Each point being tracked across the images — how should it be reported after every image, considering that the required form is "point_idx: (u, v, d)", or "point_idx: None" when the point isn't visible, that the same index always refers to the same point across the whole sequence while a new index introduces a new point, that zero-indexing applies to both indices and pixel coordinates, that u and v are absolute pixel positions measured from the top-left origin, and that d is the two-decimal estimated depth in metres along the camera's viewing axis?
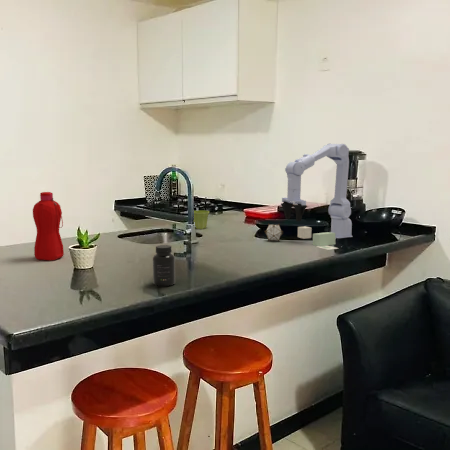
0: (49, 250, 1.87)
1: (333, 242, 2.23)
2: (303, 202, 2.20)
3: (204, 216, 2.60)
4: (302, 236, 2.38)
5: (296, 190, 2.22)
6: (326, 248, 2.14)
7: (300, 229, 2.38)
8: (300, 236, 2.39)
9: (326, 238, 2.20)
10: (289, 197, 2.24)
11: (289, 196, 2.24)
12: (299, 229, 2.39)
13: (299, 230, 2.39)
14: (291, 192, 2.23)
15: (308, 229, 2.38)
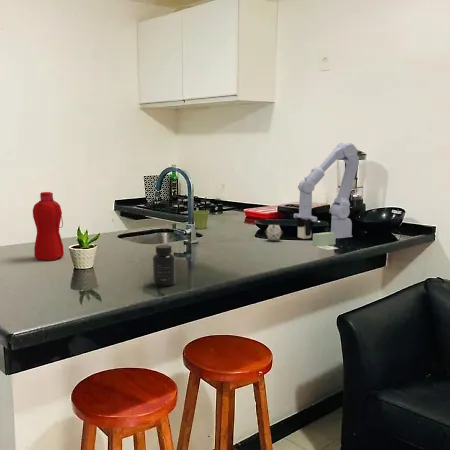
0: (49, 250, 1.87)
1: (333, 242, 2.22)
2: (314, 218, 2.32)
3: (204, 216, 2.60)
4: (302, 236, 2.38)
5: (307, 207, 2.35)
6: (326, 248, 2.14)
7: (300, 229, 2.38)
8: (300, 236, 2.39)
9: (326, 238, 2.20)
10: (301, 213, 2.36)
11: (301, 212, 2.36)
12: (299, 229, 2.39)
13: (299, 230, 2.39)
14: (303, 209, 2.35)
15: None
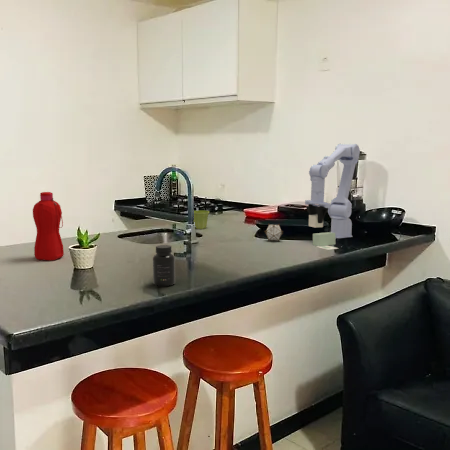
0: (49, 250, 1.87)
1: (333, 242, 2.22)
2: (327, 205, 2.20)
3: (204, 216, 2.60)
4: (313, 224, 2.26)
5: (320, 193, 2.23)
6: (326, 248, 2.14)
7: (311, 217, 2.27)
8: (311, 224, 2.27)
9: (326, 238, 2.20)
10: (313, 200, 2.25)
11: (313, 199, 2.25)
12: (310, 217, 2.27)
13: (310, 219, 2.27)
14: (315, 195, 2.24)
15: None
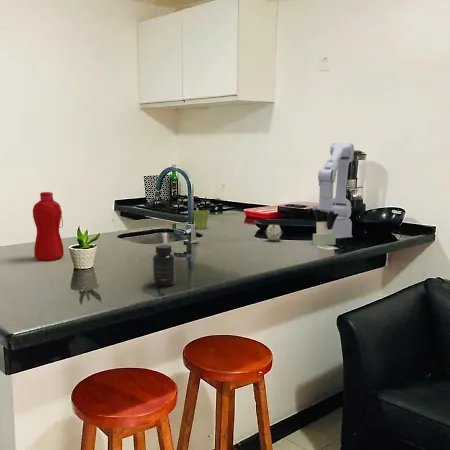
0: (49, 250, 1.87)
1: (333, 242, 2.22)
2: (336, 210, 2.14)
3: (204, 216, 2.60)
4: (322, 231, 2.19)
5: (328, 198, 2.17)
6: (326, 248, 2.14)
7: (319, 224, 2.20)
8: (319, 232, 2.21)
9: (326, 238, 2.20)
10: (321, 205, 2.18)
11: (321, 204, 2.18)
12: (318, 224, 2.21)
13: (318, 226, 2.21)
14: (323, 200, 2.17)
15: None
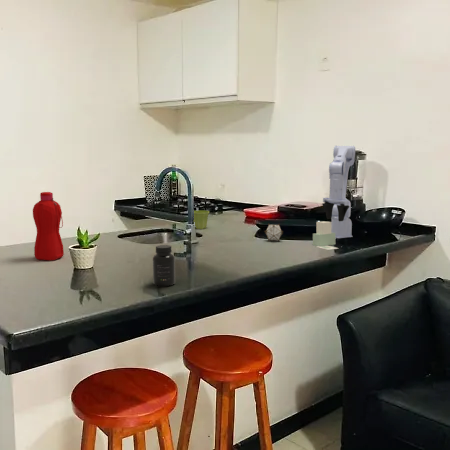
0: (49, 250, 1.87)
1: (333, 242, 2.22)
2: (346, 202, 2.19)
3: (204, 216, 2.60)
4: (322, 231, 2.19)
5: (339, 190, 2.22)
6: (326, 248, 2.14)
7: (319, 224, 2.20)
8: (319, 232, 2.21)
9: (326, 238, 2.20)
10: (331, 197, 2.23)
11: (331, 196, 2.23)
12: (318, 224, 2.21)
13: (318, 226, 2.21)
14: (334, 192, 2.22)
15: (328, 223, 2.20)
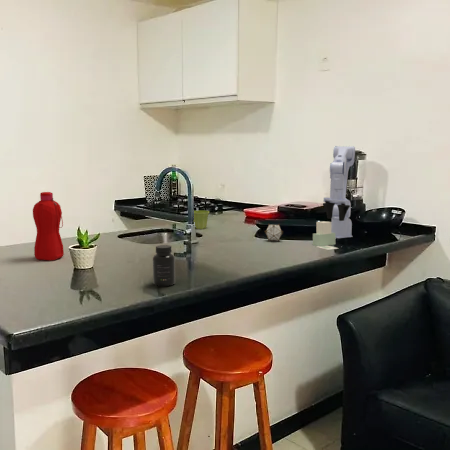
0: (49, 250, 1.87)
1: (333, 242, 2.22)
2: (347, 202, 2.19)
3: (204, 216, 2.60)
4: (322, 231, 2.19)
5: (339, 190, 2.22)
6: (326, 248, 2.14)
7: (319, 224, 2.20)
8: (319, 232, 2.21)
9: (326, 238, 2.20)
10: (332, 197, 2.24)
11: (332, 196, 2.24)
12: (318, 224, 2.21)
13: (318, 226, 2.21)
14: (334, 192, 2.23)
15: (328, 223, 2.20)
